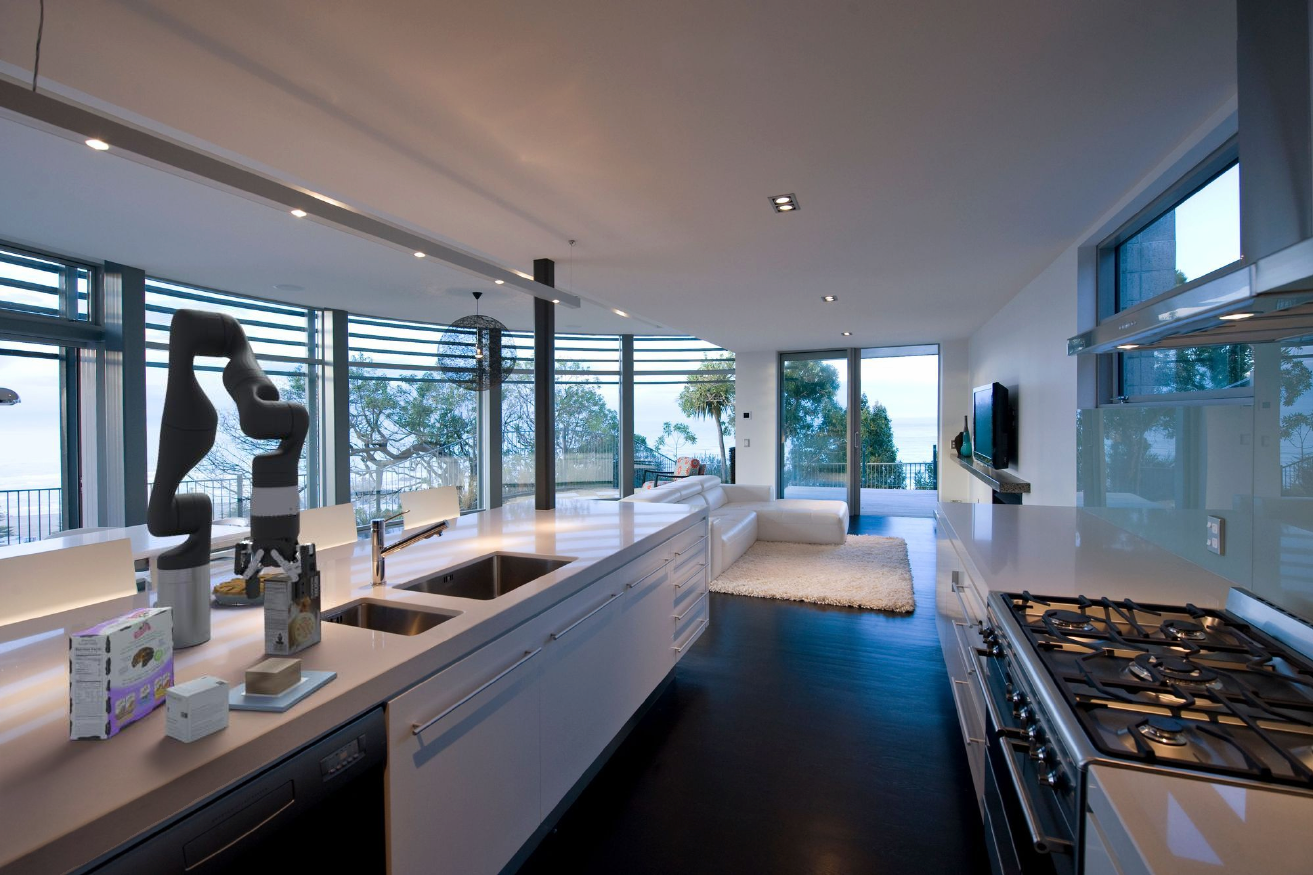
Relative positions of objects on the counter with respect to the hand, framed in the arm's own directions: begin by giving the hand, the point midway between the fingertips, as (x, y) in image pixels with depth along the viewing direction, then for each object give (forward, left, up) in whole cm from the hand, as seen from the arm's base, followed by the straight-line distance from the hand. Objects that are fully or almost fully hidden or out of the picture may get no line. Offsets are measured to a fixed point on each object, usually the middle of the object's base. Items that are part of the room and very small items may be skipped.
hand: (275, 599), depth 105 cm
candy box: (-17, -12, -17) cm, 27 cm away
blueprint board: (0, 0, -17) cm, 17 cm away
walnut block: (0, 0, -16) cm, 16 cm away
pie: (-49, +55, -17) cm, 76 cm away
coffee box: (-12, +20, -17) cm, 29 cm away
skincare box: (-2, -14, -17) cm, 22 cm away
